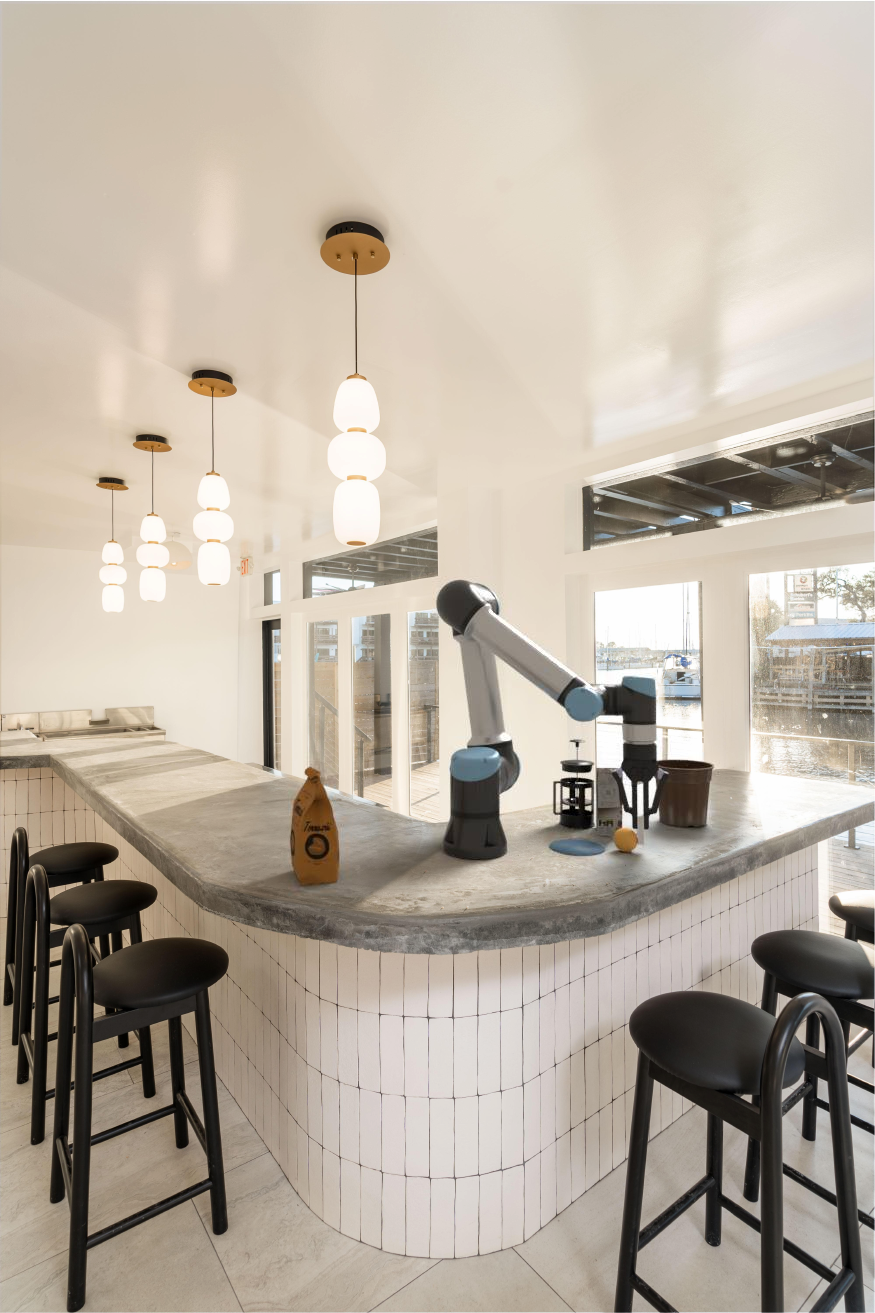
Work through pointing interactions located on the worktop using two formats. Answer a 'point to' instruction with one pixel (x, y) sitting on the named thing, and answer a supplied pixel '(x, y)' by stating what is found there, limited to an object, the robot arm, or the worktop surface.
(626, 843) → the ball
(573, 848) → the disc
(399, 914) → the worktop surface
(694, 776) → the plant pot
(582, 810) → the french press
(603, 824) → the coffee box
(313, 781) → the coffee package
